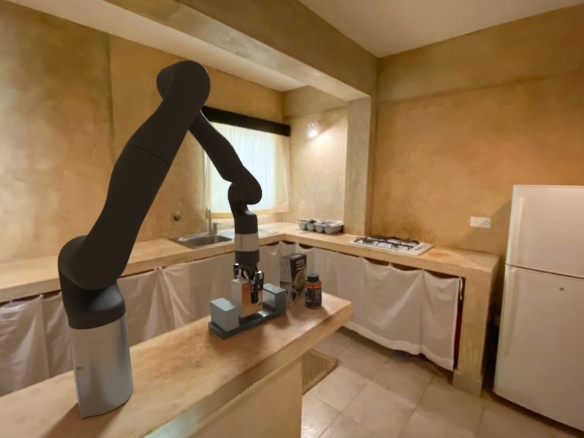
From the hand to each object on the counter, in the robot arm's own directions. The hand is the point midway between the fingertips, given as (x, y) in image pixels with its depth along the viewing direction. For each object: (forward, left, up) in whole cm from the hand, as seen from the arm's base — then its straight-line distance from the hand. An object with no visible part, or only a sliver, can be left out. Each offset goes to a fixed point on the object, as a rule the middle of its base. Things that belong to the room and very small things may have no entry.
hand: (249, 299), depth 87 cm
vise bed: (-1, 0, -7) cm, 7 cm away
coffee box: (+22, +3, -7) cm, 23 cm away
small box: (-1, 0, -4) cm, 4 cm away
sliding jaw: (-9, 0, -5) cm, 10 cm away
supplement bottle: (+22, -7, -7) cm, 24 cm away
